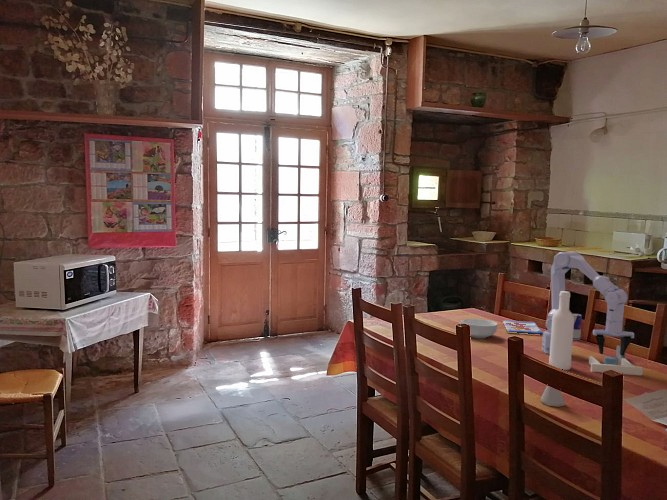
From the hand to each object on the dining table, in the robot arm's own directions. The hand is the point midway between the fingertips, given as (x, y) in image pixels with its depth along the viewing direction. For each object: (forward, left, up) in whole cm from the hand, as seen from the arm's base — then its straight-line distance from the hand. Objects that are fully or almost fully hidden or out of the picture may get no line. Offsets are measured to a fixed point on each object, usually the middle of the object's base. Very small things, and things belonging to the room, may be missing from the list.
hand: (611, 354), depth 209 cm
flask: (-32, -45, -6) cm, 56 cm away
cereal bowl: (-47, +37, -6) cm, 60 cm away
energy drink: (-2, +44, -6) cm, 44 cm away
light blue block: (0, 0, -6) cm, 6 cm away
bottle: (-20, -4, -6) cm, 21 cm away
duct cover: (+8, +12, -5) cm, 15 cm away
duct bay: (0, 0, -6) cm, 6 cm away
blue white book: (-23, +58, -6) cm, 63 cm away
